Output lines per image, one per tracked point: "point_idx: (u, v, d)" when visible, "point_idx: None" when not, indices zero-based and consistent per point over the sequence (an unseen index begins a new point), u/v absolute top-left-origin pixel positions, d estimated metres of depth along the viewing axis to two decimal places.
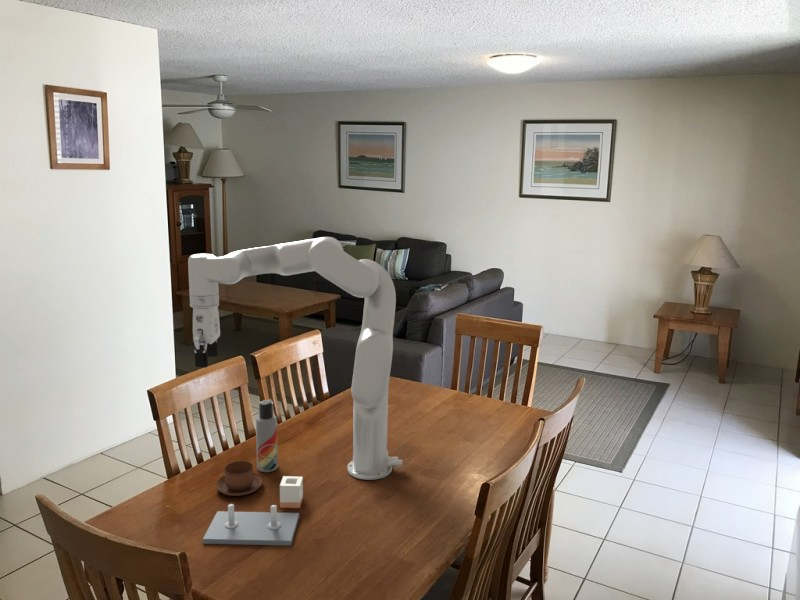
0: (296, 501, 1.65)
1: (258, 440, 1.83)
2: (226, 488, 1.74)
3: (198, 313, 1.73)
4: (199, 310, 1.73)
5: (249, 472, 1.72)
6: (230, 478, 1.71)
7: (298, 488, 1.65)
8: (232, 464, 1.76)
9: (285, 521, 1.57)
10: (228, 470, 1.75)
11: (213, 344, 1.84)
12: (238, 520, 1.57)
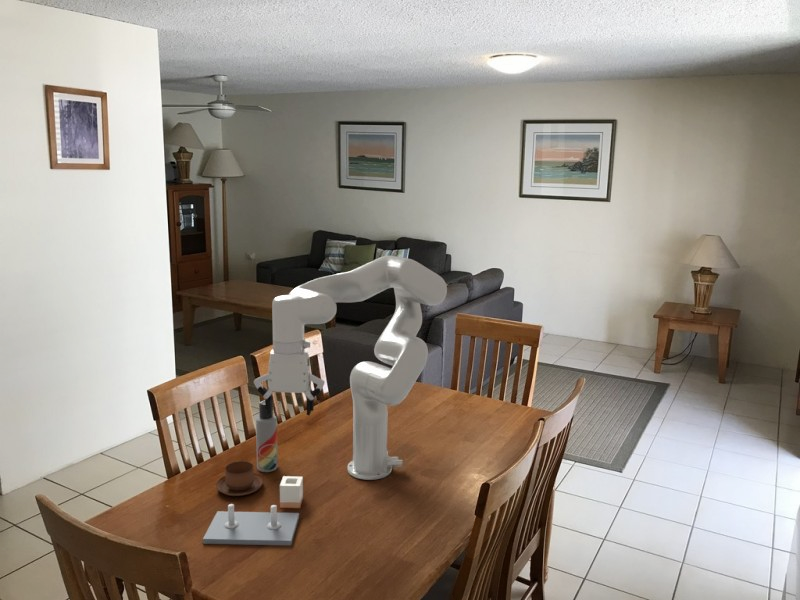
0: (296, 501, 1.65)
1: (258, 440, 1.83)
2: (226, 488, 1.74)
3: (307, 357, 1.60)
4: (307, 354, 1.60)
5: (250, 472, 1.72)
6: (230, 478, 1.71)
7: (298, 488, 1.65)
8: (232, 464, 1.76)
9: (285, 521, 1.57)
10: (228, 470, 1.75)
11: (272, 397, 1.63)
12: (238, 520, 1.57)
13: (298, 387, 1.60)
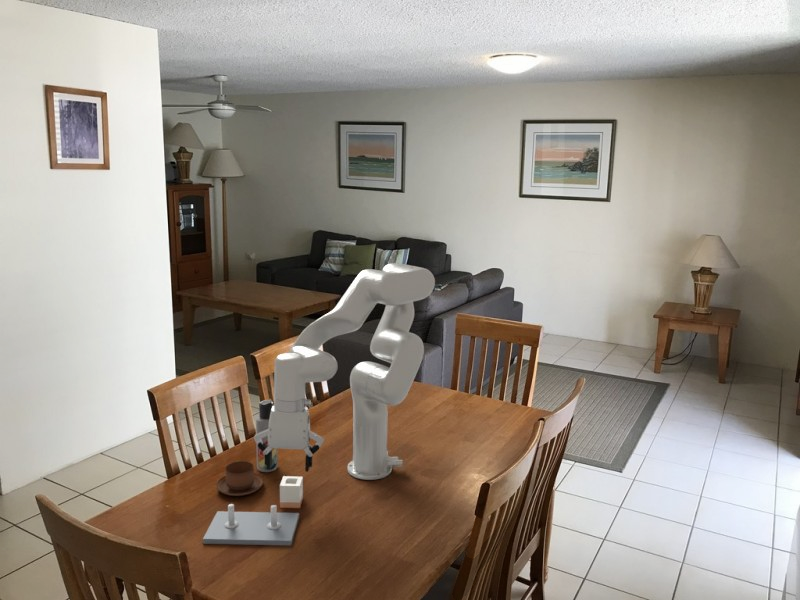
0: (296, 501, 1.65)
1: None
2: (227, 488, 1.74)
3: (307, 414, 1.63)
4: (307, 411, 1.63)
5: (250, 472, 1.72)
6: (231, 478, 1.71)
7: (298, 488, 1.65)
8: (233, 464, 1.76)
9: (285, 521, 1.57)
10: (229, 470, 1.75)
11: (271, 453, 1.66)
12: (238, 520, 1.57)
13: (297, 444, 1.62)
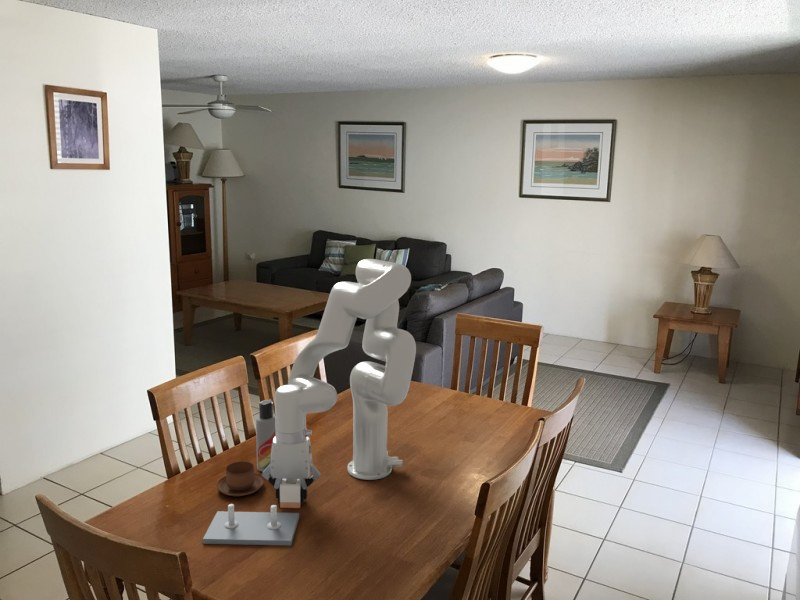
0: (296, 501, 1.65)
1: (258, 440, 1.83)
2: (227, 488, 1.74)
3: (309, 445, 1.65)
4: (308, 441, 1.65)
5: (251, 472, 1.72)
6: (231, 478, 1.71)
7: (298, 488, 1.65)
8: (233, 464, 1.76)
9: (285, 521, 1.57)
10: (229, 470, 1.75)
11: None
12: (238, 520, 1.57)
13: (299, 474, 1.64)
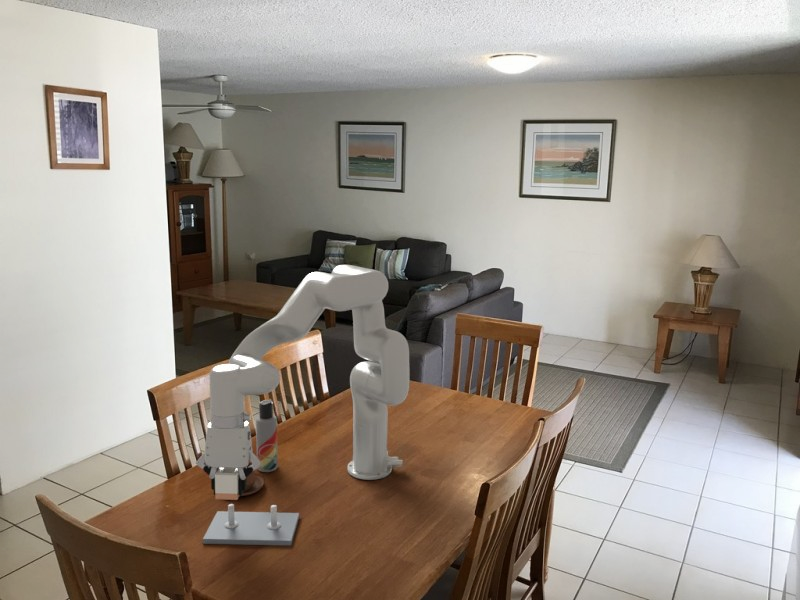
0: (233, 492, 1.50)
1: (258, 440, 1.83)
2: None
3: (247, 430, 1.50)
4: (247, 427, 1.50)
5: None
6: None
7: (235, 478, 1.50)
8: None
9: (285, 521, 1.57)
10: None
11: None
12: (238, 520, 1.57)
13: (237, 462, 1.49)
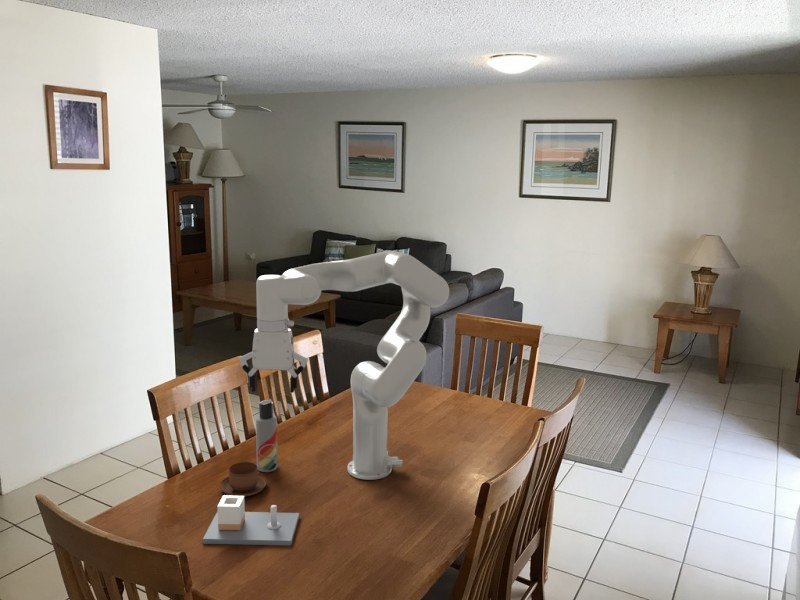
0: (235, 523, 1.52)
1: (258, 440, 1.83)
2: (230, 489, 1.74)
3: (291, 335, 1.64)
4: (290, 332, 1.64)
5: (254, 473, 1.72)
6: (235, 479, 1.70)
7: (237, 509, 1.52)
8: (236, 465, 1.76)
9: (285, 521, 1.57)
10: (232, 471, 1.75)
11: (256, 375, 1.67)
12: None
13: (281, 364, 1.64)
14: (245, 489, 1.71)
